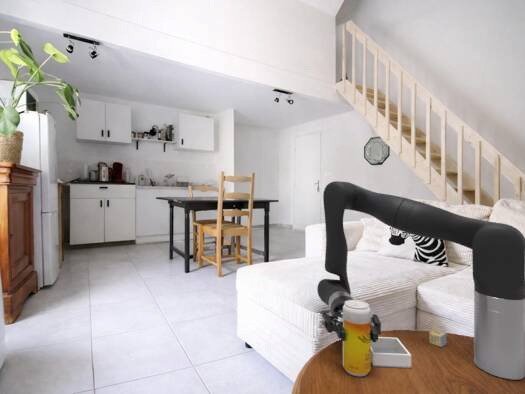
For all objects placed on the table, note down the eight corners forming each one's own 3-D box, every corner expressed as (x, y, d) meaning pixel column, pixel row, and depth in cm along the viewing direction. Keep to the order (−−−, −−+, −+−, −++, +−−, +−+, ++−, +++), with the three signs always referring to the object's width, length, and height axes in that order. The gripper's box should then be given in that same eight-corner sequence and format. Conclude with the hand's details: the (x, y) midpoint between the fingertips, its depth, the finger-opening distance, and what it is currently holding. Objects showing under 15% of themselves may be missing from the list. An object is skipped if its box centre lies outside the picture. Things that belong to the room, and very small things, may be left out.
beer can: (372, 379, 64) (373, 309, 64) (343, 376, 65) (343, 307, 65) (368, 364, 70) (368, 300, 70) (341, 361, 71) (342, 298, 71)
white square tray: (397, 349, 77) (397, 337, 77) (411, 368, 68) (411, 355, 68) (363, 347, 77) (363, 336, 77) (372, 366, 69) (373, 353, 69)
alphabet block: (441, 347, 78) (441, 336, 78) (429, 343, 80) (429, 331, 80) (446, 344, 79) (446, 333, 80) (434, 340, 82) (434, 329, 82)
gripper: (317, 294, 82) (326, 319, 65) (370, 296, 81) (393, 321, 64) (317, 321, 82) (326, 353, 65) (370, 323, 81) (393, 356, 64)
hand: (359, 337), depth 65 cm, fingers closed on beer can, 6 cm apart
